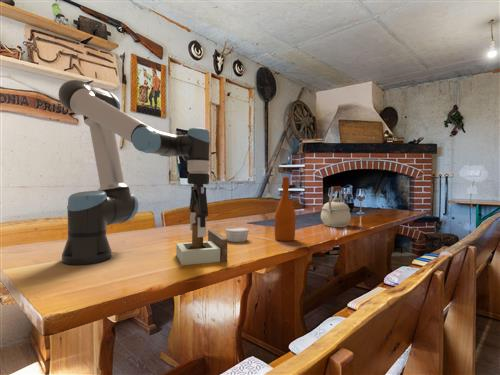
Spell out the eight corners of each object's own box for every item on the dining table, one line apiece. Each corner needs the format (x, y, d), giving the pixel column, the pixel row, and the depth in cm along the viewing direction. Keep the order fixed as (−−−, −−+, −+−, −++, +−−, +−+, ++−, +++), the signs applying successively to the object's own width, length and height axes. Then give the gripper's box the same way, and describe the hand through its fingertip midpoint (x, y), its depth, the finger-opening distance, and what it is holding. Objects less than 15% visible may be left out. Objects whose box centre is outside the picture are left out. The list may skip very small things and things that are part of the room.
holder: (181, 265, 96) (181, 251, 96) (176, 255, 108) (176, 243, 108) (220, 261, 101) (220, 248, 101) (211, 252, 113) (211, 240, 113)
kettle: (327, 222, 202) (328, 185, 201) (354, 224, 191) (356, 186, 191) (312, 226, 182) (313, 186, 181) (342, 230, 171) (343, 187, 170)
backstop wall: (221, 262, 101) (221, 239, 100) (207, 249, 119) (208, 229, 119) (227, 262, 101) (227, 239, 101) (212, 249, 120) (212, 229, 120)
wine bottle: (298, 239, 142) (299, 177, 142) (289, 242, 134) (291, 176, 133) (280, 236, 148) (281, 176, 147) (270, 240, 139) (271, 176, 139)
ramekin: (236, 236, 146) (236, 226, 146) (253, 240, 139) (253, 229, 139) (220, 240, 138) (220, 229, 138) (237, 244, 131) (238, 232, 130)
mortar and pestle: (190, 258, 100) (191, 205, 100) (185, 253, 106) (186, 203, 106) (209, 256, 103) (209, 204, 103) (203, 251, 109) (204, 203, 108)
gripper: (218, 172, 93) (217, 239, 94) (201, 173, 117) (200, 227, 117) (194, 172, 91) (193, 240, 91) (182, 173, 114) (181, 227, 115)
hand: (197, 233), depth 104 cm, fingers open, 13 cm apart
